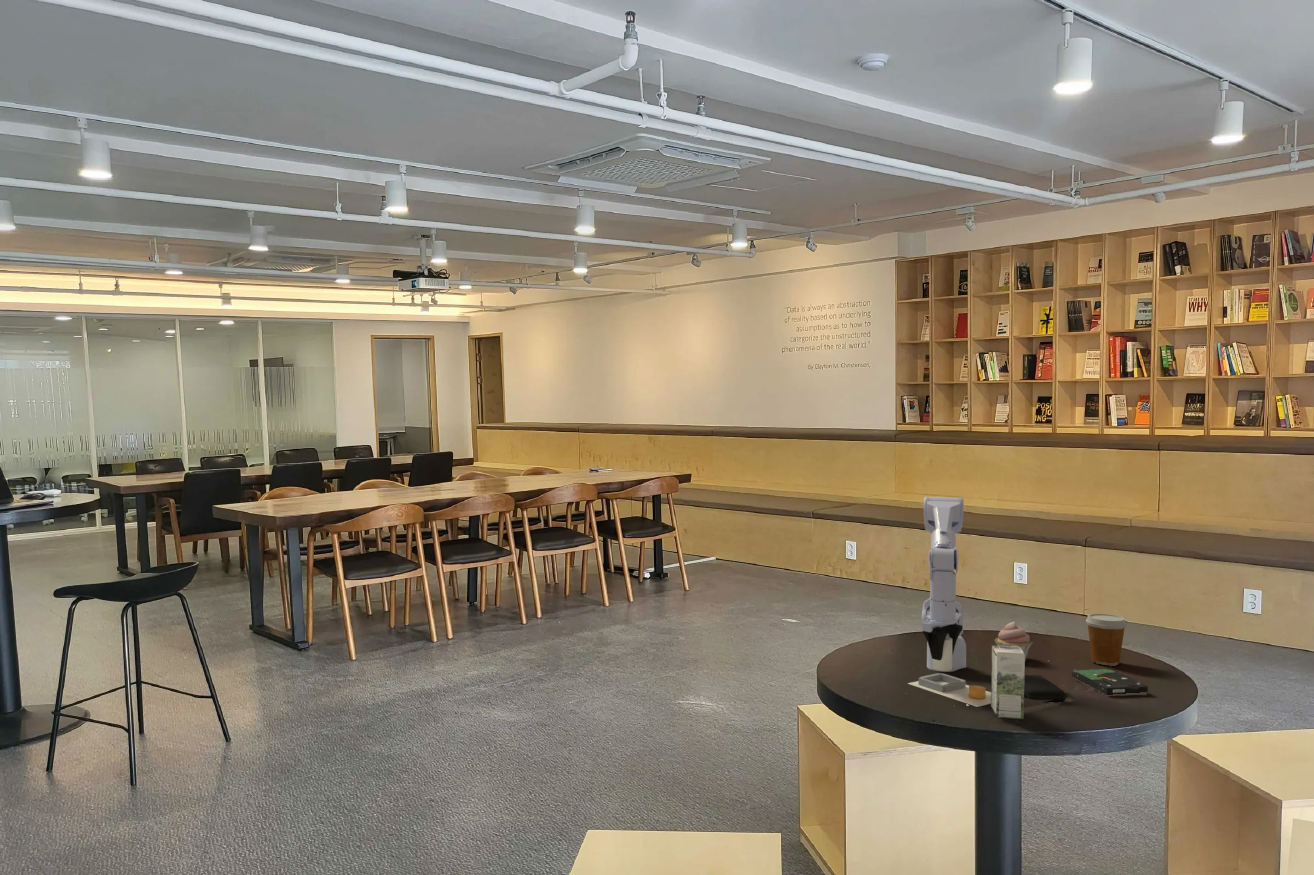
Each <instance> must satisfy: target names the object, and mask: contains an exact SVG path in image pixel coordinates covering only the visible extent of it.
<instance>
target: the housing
mask: <svg viewBox="0 0 1314 875" xmlns="http://www.w3.org/2000/svg"><path fill="white" fill-rule="evenodd" d="M966 683H967V682H966V679H962V678H960V677H959V678H958V677H956V676H952V675H949V674H945V673H944V672H943V673H942V672H941V673H938V672H937V673H933V674H928V675H923V676H919V678H918V680H917V681H912V682H908V683H907V685H910V686H913V687H916V688H919V689H922V690H925V691H929V692H931V693H934V694H938V695H941V696H943V697H946V698H949V699H952V700H954V701H958V702H962V703H965V704H968V705H970V706H973V707H975V708H978V707H982V706H986V705H991V691H987V690H986V698H984V699H974V698H971V697H969V686H970V685H968V684H966Z"/></svg>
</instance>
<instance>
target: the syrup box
mask: <svg viewBox="0 0 1314 875" xmlns="http://www.w3.org/2000/svg"><path fill="white" fill-rule="evenodd" d="M1025 663H1026V660H1025V654H1024V652H1023V651H1022V649H1021V648H1020V647H1018V646H997V645H994V644H993V645H991V679H990V680H991V684H990V685H991V689H990V692H991V704H990V707H991V709H992V710H993V712H994V717H995V718H997V719H1010V720H1024V715H1025V714H1024V709H1025V708H1024V707H1025V705H1024V704H1025V697H1024V675H1025V667H1026V666H1025Z"/></svg>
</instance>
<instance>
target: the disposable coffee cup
mask: <svg viewBox="0 0 1314 875" xmlns="http://www.w3.org/2000/svg"><path fill="white" fill-rule="evenodd" d="M1085 623H1086V624H1087V628H1088V629H1087V630H1088V638H1089V639H1088V640H1089V645H1090V646H1089V647H1090V655H1091V656H1090V657H1091V661H1092V660H1094V661H1099V662H1106V663H1115V662H1119V663H1120V661H1121V660H1120V659H1121V655H1122V654H1121V653H1122V646H1123V641H1124V635H1125V628H1127V622H1126V619H1125V618H1124V616H1121V615H1116V614H1110V613H1089V614H1088V615H1087V618H1086V619H1085Z"/></svg>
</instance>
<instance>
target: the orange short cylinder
mask: <svg viewBox="0 0 1314 875" xmlns="http://www.w3.org/2000/svg"><path fill="white" fill-rule="evenodd" d="M986 689H987V688H986V687H984V686H981V685H974V684H973V685H972V684H971V685H969V697H971V698H974V699H984V698H986V691H987V690H986Z"/></svg>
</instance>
